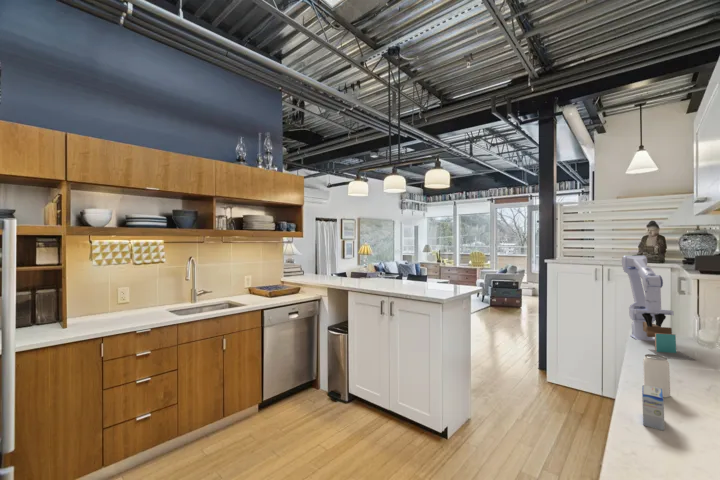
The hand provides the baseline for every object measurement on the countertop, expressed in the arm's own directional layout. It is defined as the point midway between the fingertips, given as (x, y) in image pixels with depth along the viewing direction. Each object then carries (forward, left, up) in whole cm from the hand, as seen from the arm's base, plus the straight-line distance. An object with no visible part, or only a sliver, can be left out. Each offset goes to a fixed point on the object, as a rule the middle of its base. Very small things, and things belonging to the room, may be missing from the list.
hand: (654, 329), depth 162 cm
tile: (+10, 0, -8) cm, 13 cm away
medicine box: (+83, -34, -8) cm, 90 cm away
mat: (+14, 0, -8) cm, 16 cm away
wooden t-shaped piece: (-2, 0, -2) cm, 3 cm away
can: (+61, -24, -8) cm, 66 cm away
